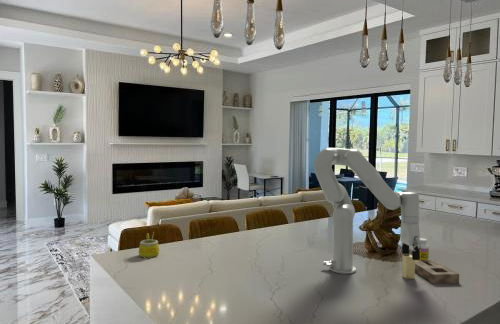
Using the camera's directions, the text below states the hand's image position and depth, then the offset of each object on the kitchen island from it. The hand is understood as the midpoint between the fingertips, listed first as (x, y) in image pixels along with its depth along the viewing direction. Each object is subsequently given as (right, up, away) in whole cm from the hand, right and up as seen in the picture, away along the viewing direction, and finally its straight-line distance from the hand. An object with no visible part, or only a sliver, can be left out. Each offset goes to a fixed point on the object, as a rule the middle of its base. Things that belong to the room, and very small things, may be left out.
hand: (410, 256), depth 173 cm
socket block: (+12, -10, +3) cm, 16 cm away
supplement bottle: (+14, -9, +21) cm, 27 cm away
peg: (-1, -10, +1) cm, 10 cm away
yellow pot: (-128, -8, +34) cm, 133 cm away
